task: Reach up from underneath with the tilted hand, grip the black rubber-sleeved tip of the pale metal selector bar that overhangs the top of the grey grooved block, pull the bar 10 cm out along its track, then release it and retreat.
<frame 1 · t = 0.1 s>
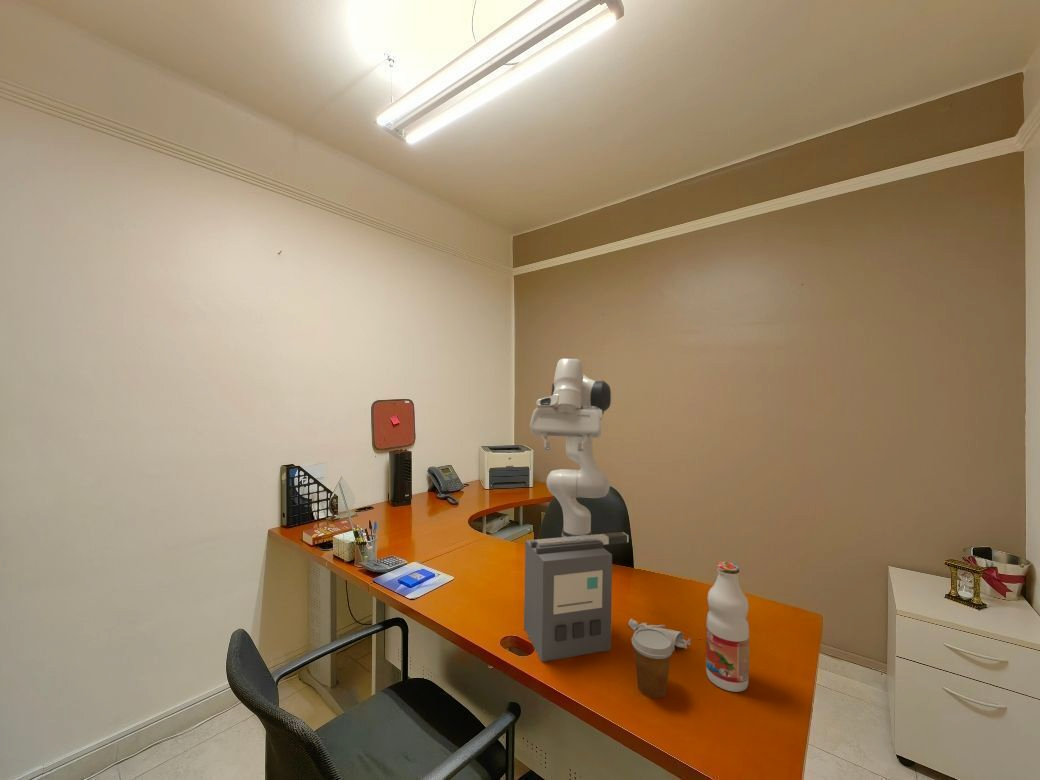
hand: (563, 449, 114), 54 cm above the table, tool tilted 30°, fingers open, 8 cm apart
grey grooved block: (565, 638, 117), on the table
fruit juice: (726, 680, 101), on the table
woman figurine: (657, 640, 118), on the table
disposable coffee cup: (651, 689, 97), on the table
selector bar: (583, 541, 119), point 27 cm above the table, slide at 0.0 cm
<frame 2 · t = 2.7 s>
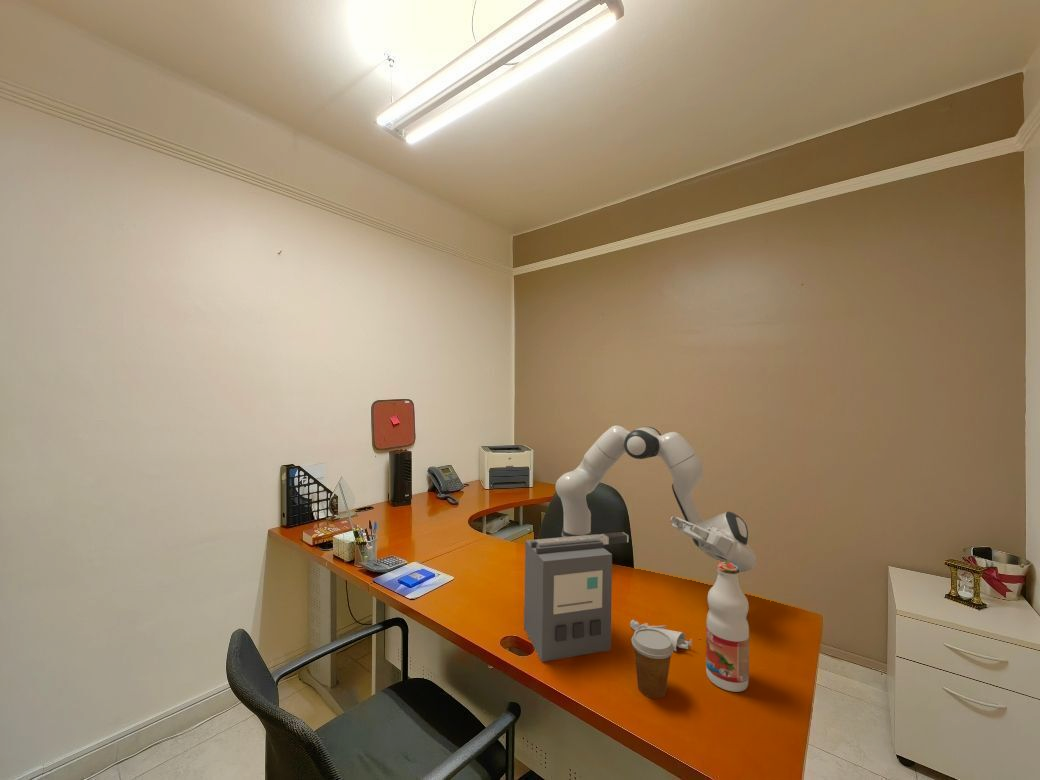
hand: (681, 523, 128), 30 cm above the table, tool pointing upward, fingers open, 8 cm apart
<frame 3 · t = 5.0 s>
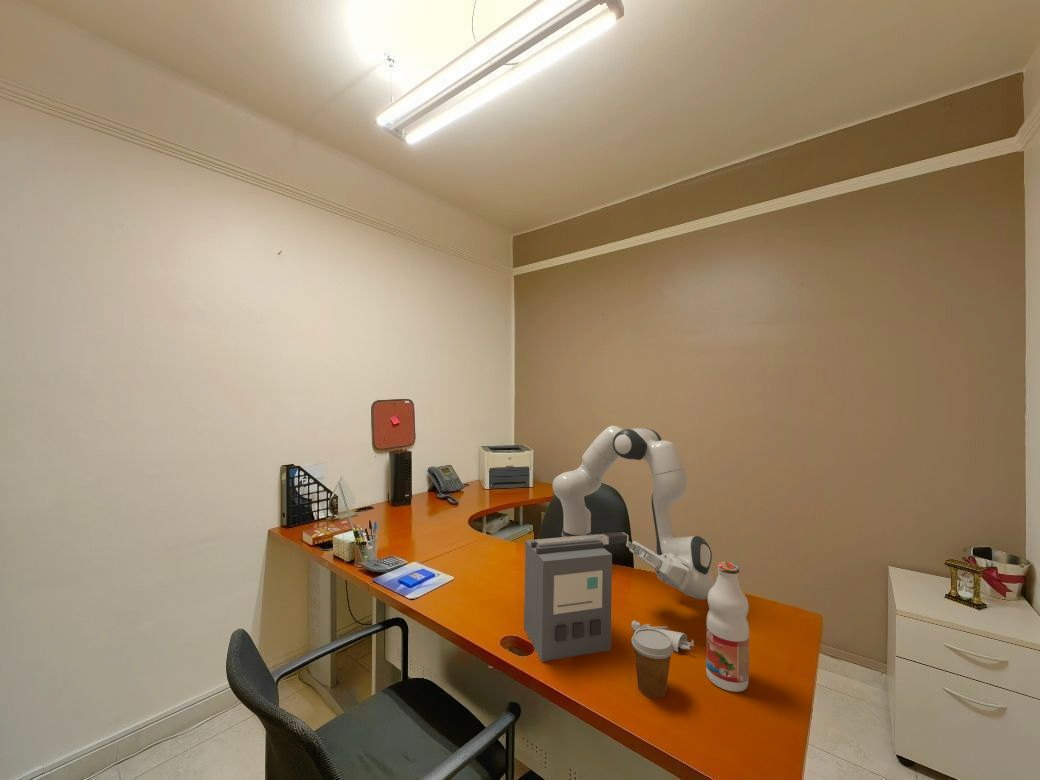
hand: (636, 549, 124), 23 cm above the table, tool pointing upward, fingers open, 8 cm apart
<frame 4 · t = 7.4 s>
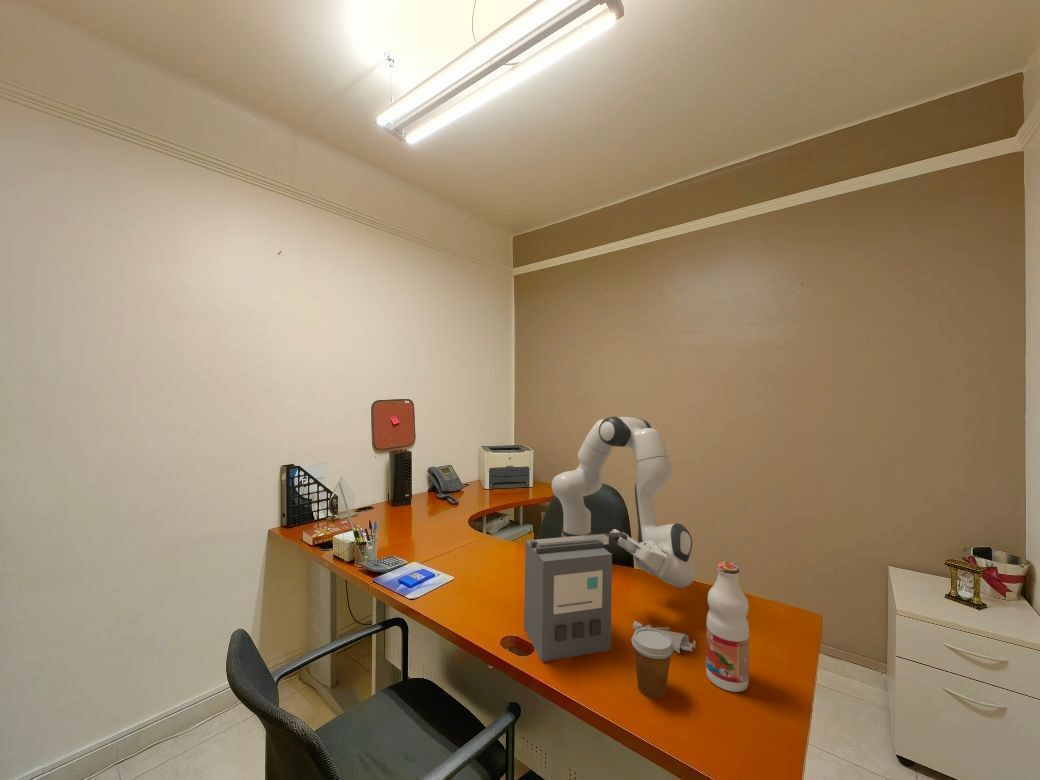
hand: (614, 536, 122), 28 cm above the table, tool pointing upward, fingers closed on selector bar, 3 cm apart
selector bar: (583, 541, 119), point 27 cm above the table, slide at 0.0 cm, touching gripper
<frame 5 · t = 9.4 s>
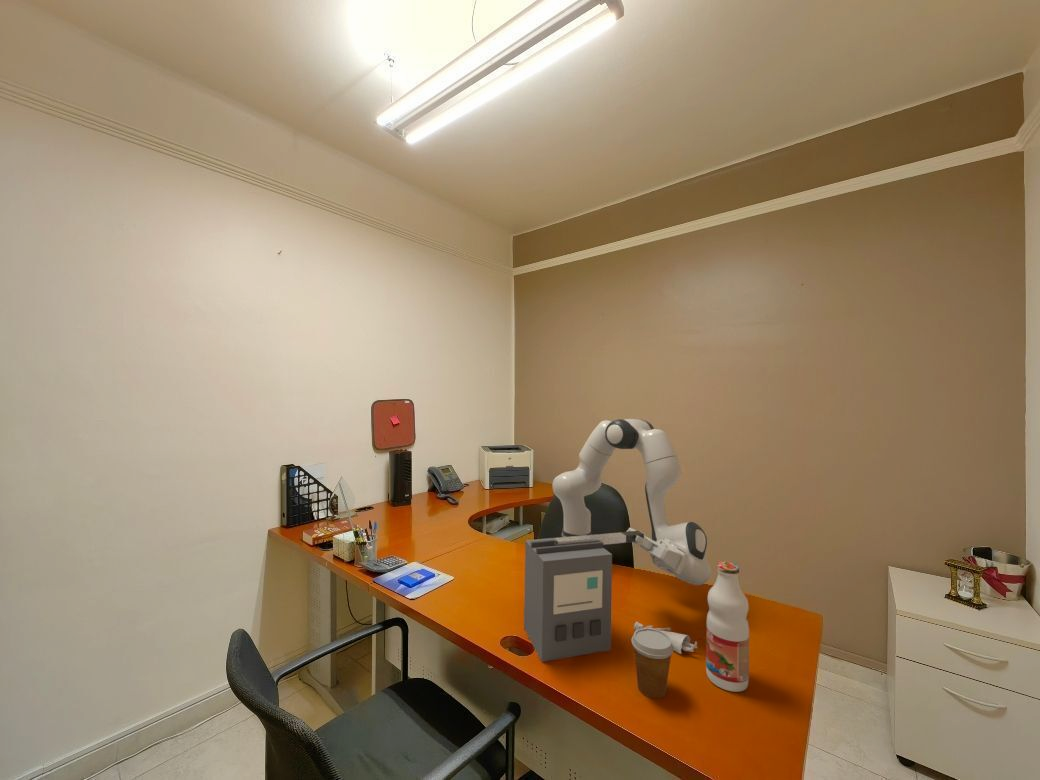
hand: (631, 535, 123), 28 cm above the table, tool pointing upward, fingers closed on selector bar, 3 cm apart
selector bar: (600, 539, 120), point 27 cm above the table, slide at 5.7 cm, touching gripper
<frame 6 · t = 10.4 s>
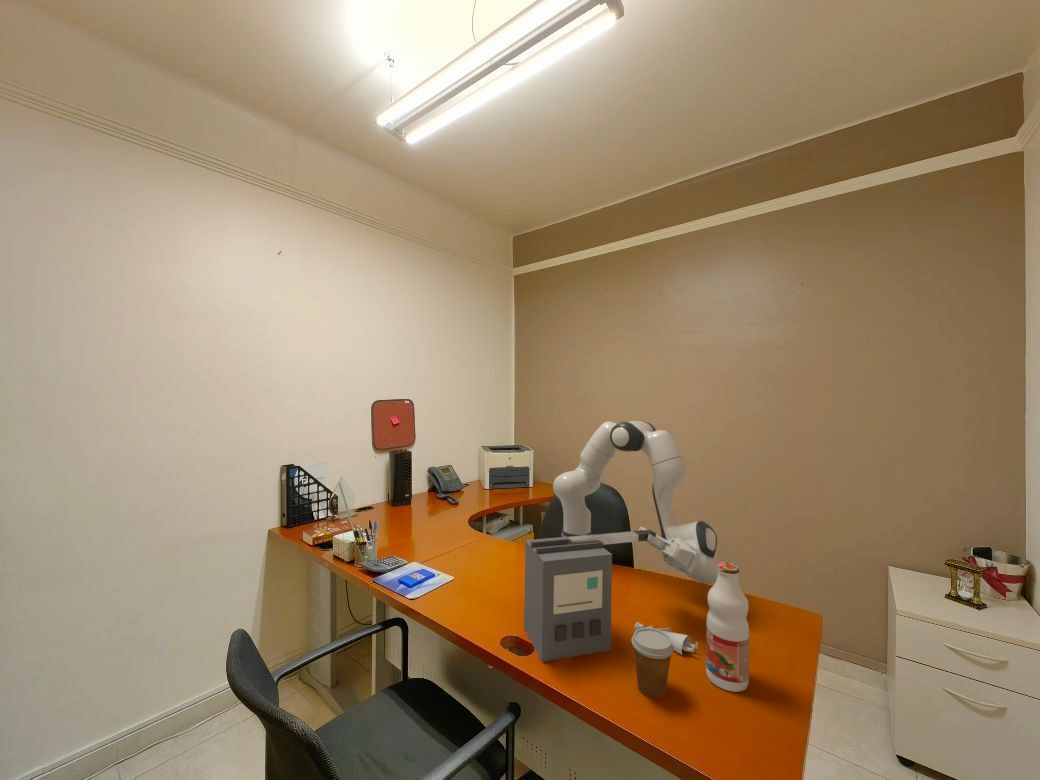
hand: (643, 534, 124), 28 cm above the table, tool pointing upward, fingers closed on selector bar, 3 cm apart
selector bar: (613, 538, 122), point 27 cm above the table, slide at 9.8 cm, touching gripper
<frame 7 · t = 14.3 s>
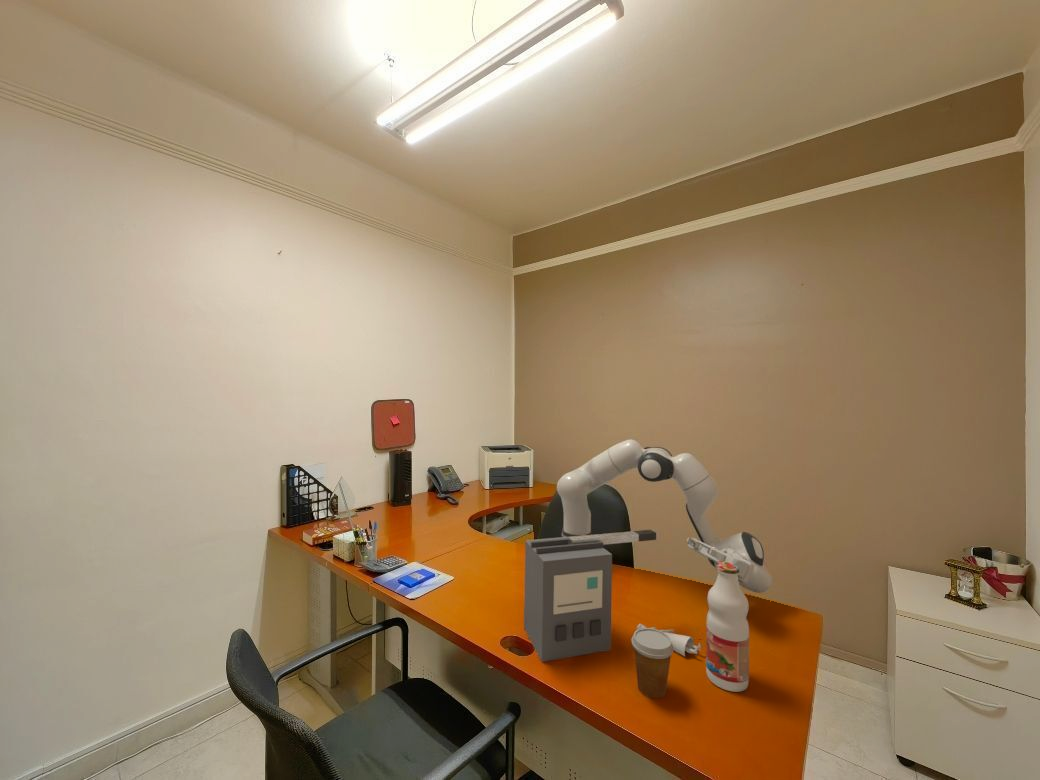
hand: (698, 545, 130), 23 cm above the table, tool pointing upward, fingers open, 8 cm apart
selector bar: (613, 538, 122), point 27 cm above the table, slide at 10.0 cm
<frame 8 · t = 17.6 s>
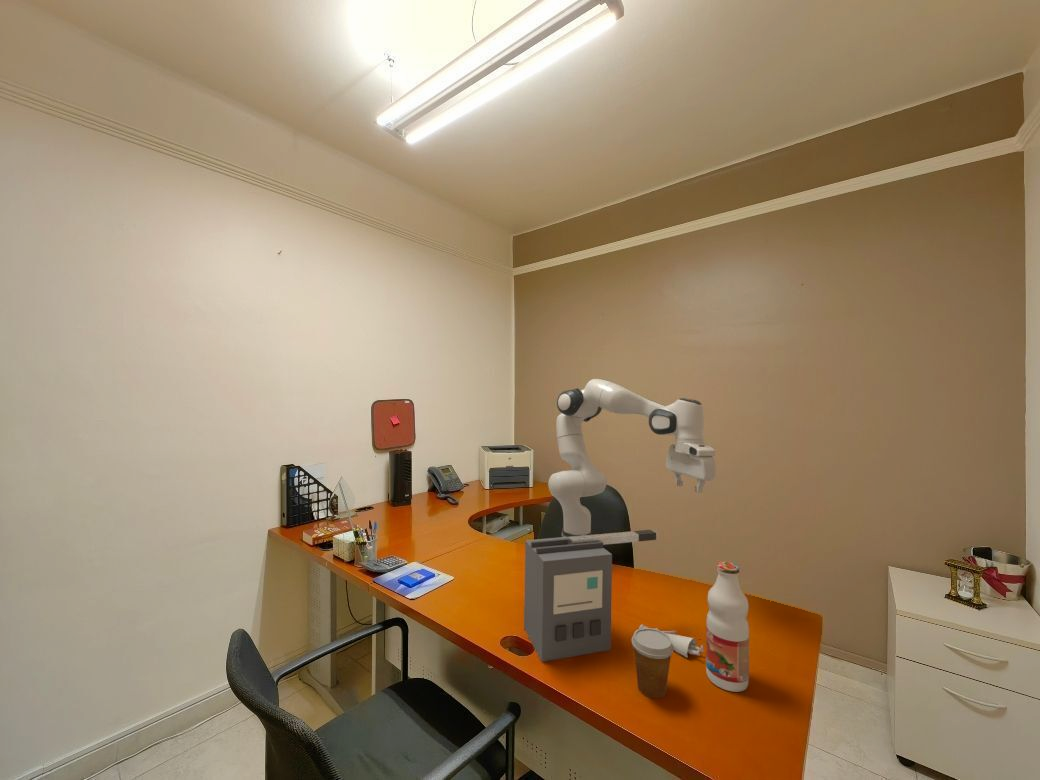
hand: (688, 488, 136), 39 cm above the table, tool pointing down, fingers open, 8 cm apart
at the end: selector bar slide at 10.0 cm; the gripper is holding nothing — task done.
